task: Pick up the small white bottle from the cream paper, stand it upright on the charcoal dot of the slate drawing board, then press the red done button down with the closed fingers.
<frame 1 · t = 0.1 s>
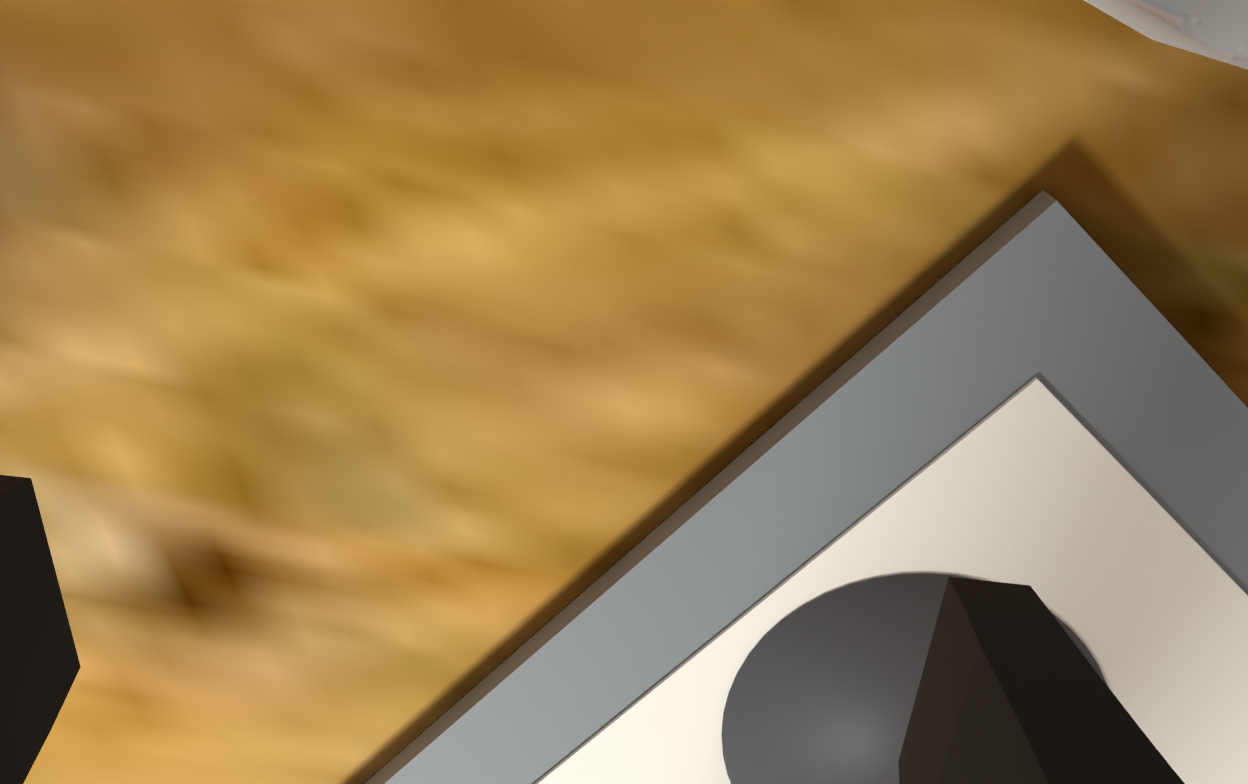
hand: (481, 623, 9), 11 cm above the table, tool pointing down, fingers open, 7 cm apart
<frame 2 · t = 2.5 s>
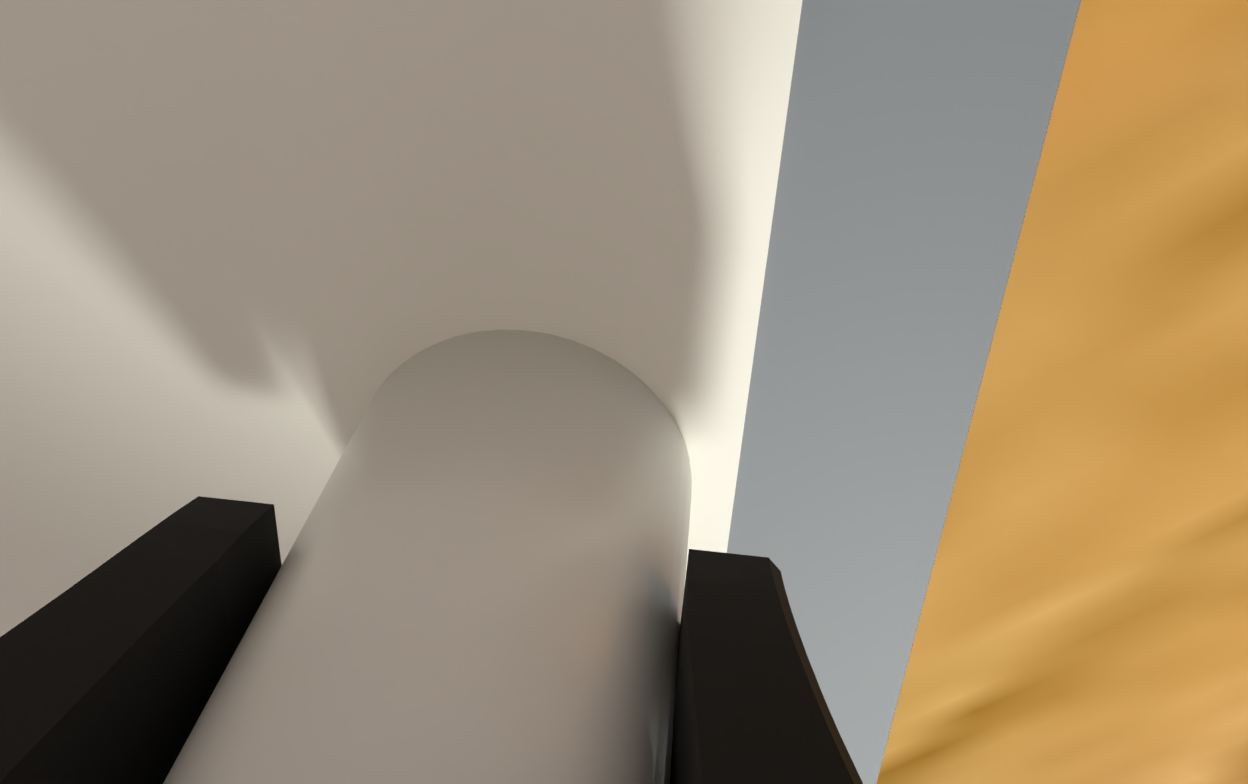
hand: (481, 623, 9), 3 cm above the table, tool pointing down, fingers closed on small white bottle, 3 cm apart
small white bottle: (523, 478, 11), point 1 cm above the table, touching drawing board, gripper
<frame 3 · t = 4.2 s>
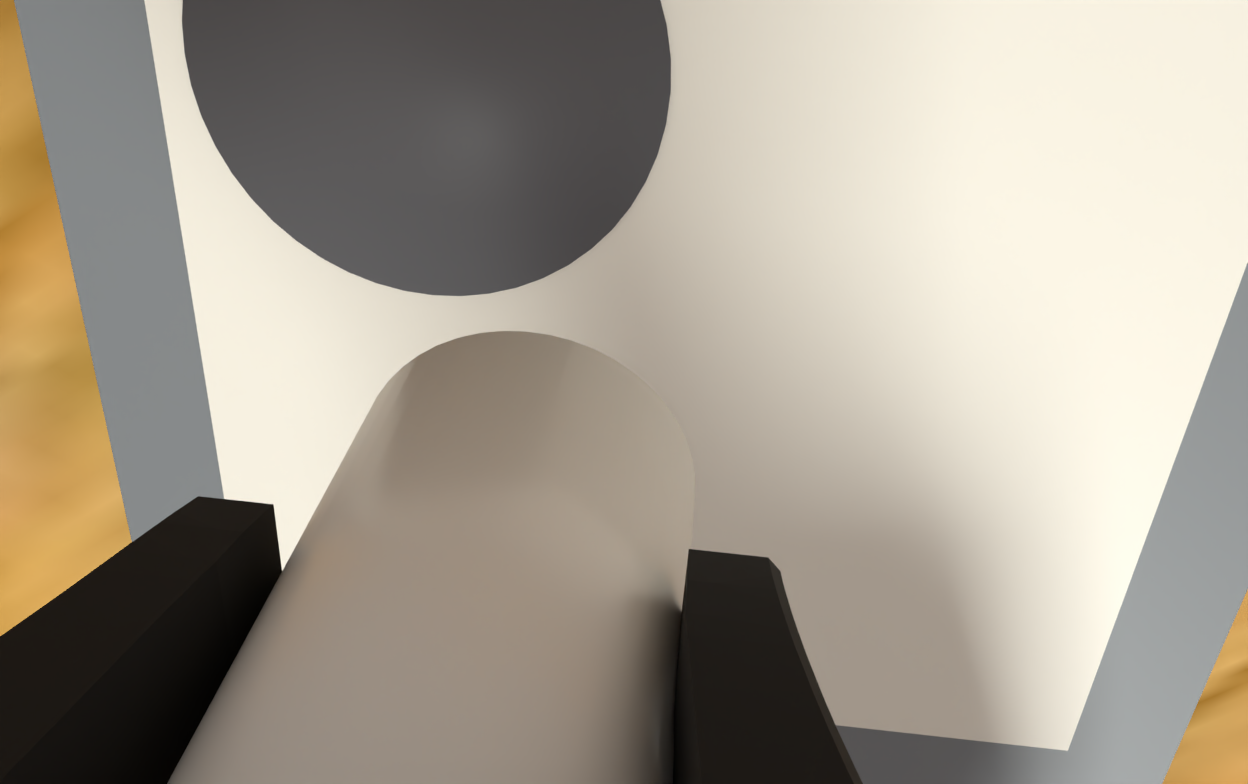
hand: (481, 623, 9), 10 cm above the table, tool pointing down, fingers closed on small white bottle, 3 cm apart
small white bottle: (526, 479, 11), point 8 cm above the table, touching gripper
drawing board: (691, 263, 18), on the table
when the fingers open (4 cm above the table, at t = 5.8 s): small white bottle drops 1 cm, resting on drawing board.
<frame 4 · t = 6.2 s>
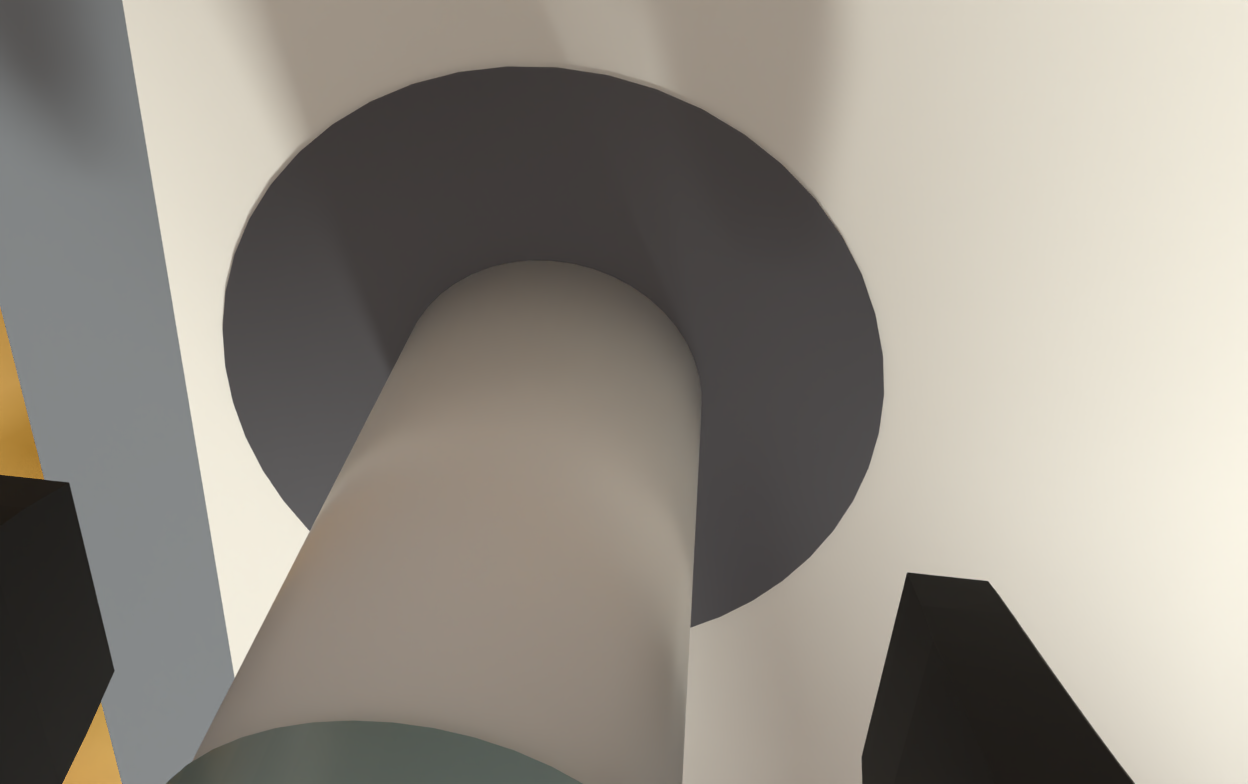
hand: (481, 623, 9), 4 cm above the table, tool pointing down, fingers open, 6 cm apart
small white bottle: (550, 398, 12), point 1 cm above the table, touching drawing board
drawing board: (869, 594, 14), on the table
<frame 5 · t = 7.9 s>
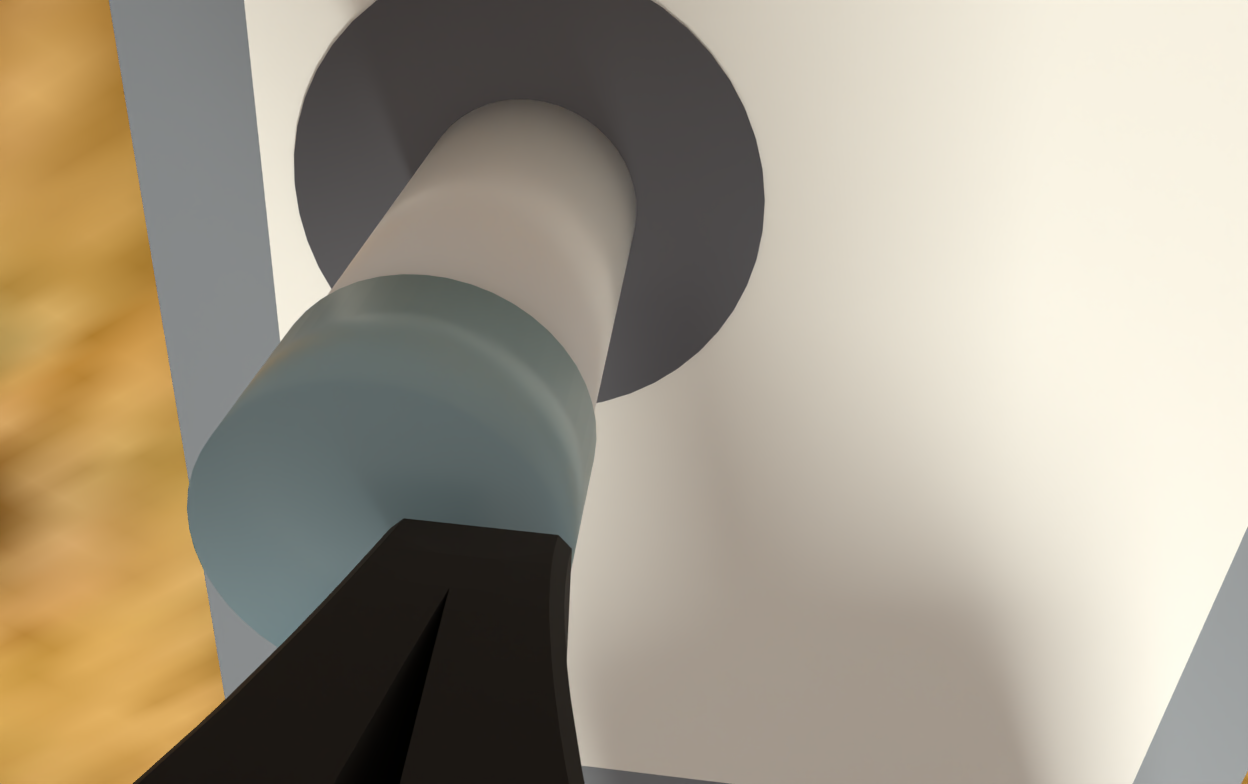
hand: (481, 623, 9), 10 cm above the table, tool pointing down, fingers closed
small white bottle: (528, 206, 17), point 1 cm above the table, touching drawing board
drawing board: (768, 376, 19), on the table
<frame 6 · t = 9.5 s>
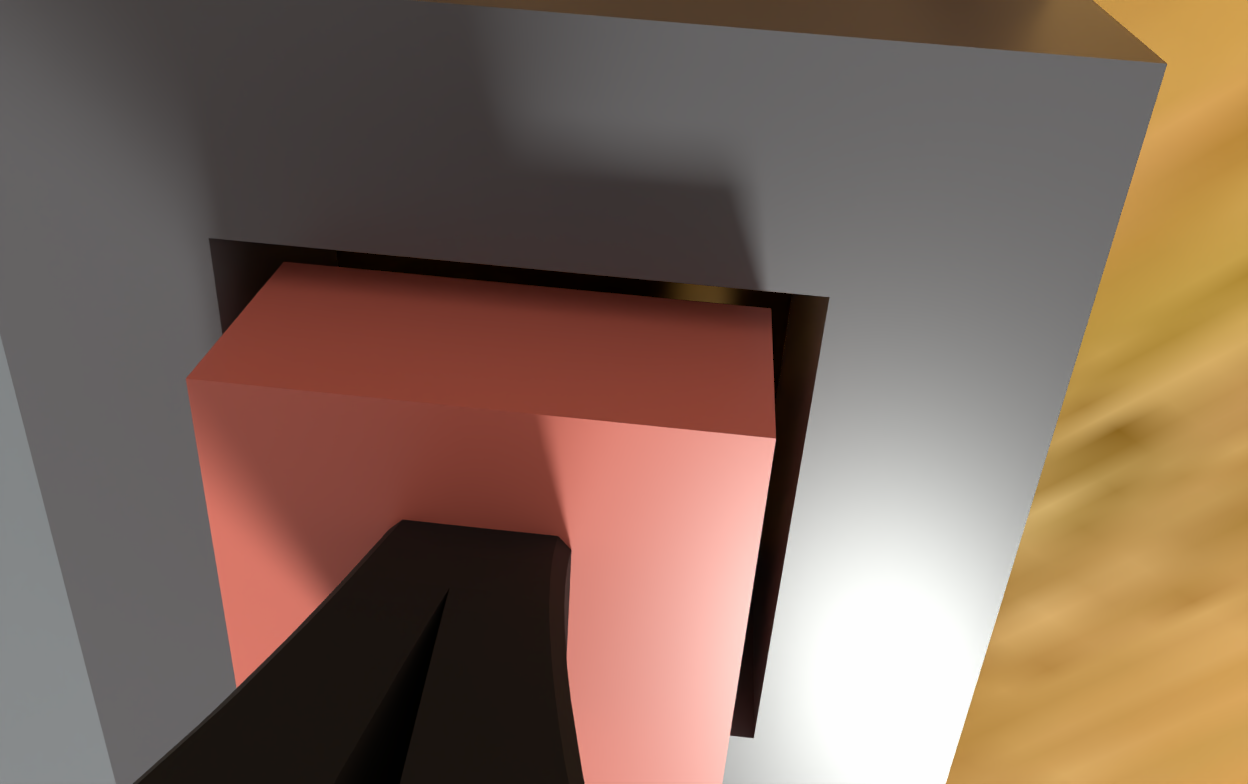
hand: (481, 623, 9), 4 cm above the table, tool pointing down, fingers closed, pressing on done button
button housing: (559, 356, 13), on the table
done button: (502, 550, 10), point 3 cm above the table, slide at 0.0 cm, touching gripper
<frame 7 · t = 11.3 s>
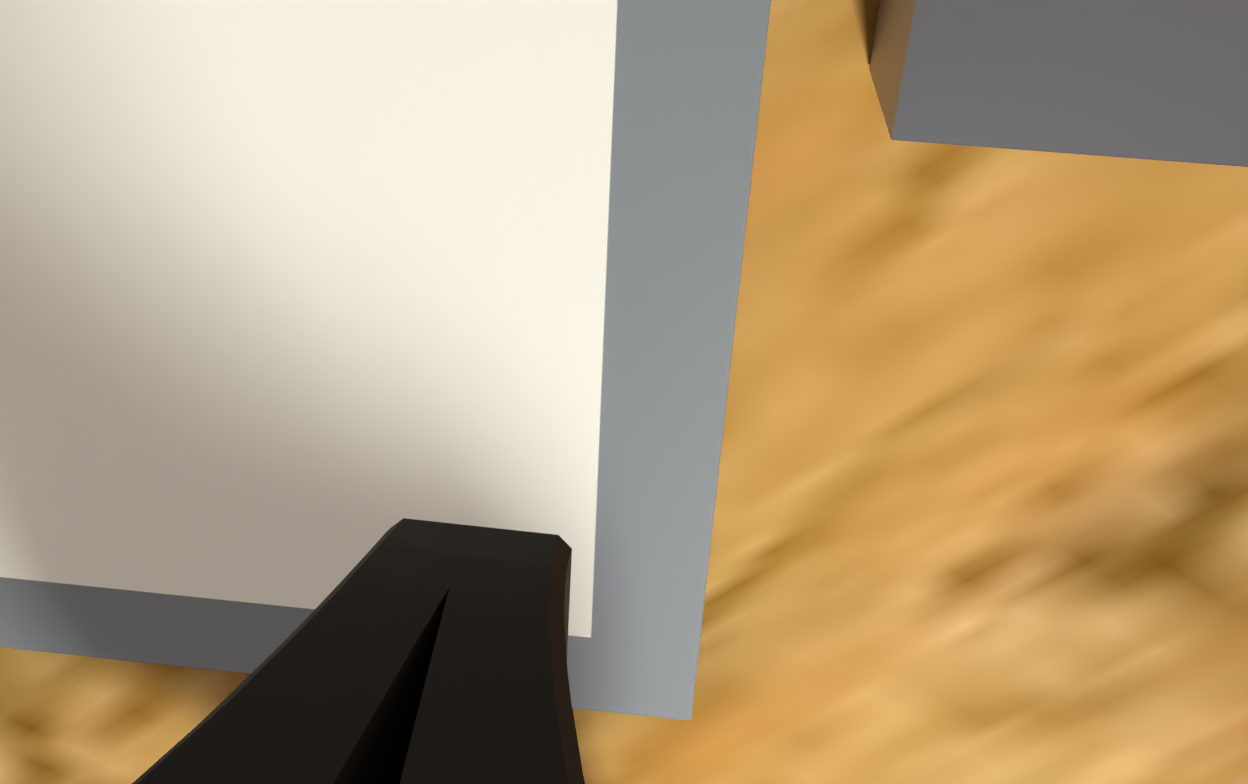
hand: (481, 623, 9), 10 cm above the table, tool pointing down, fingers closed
drawing board: (96, 111, 17), on the table
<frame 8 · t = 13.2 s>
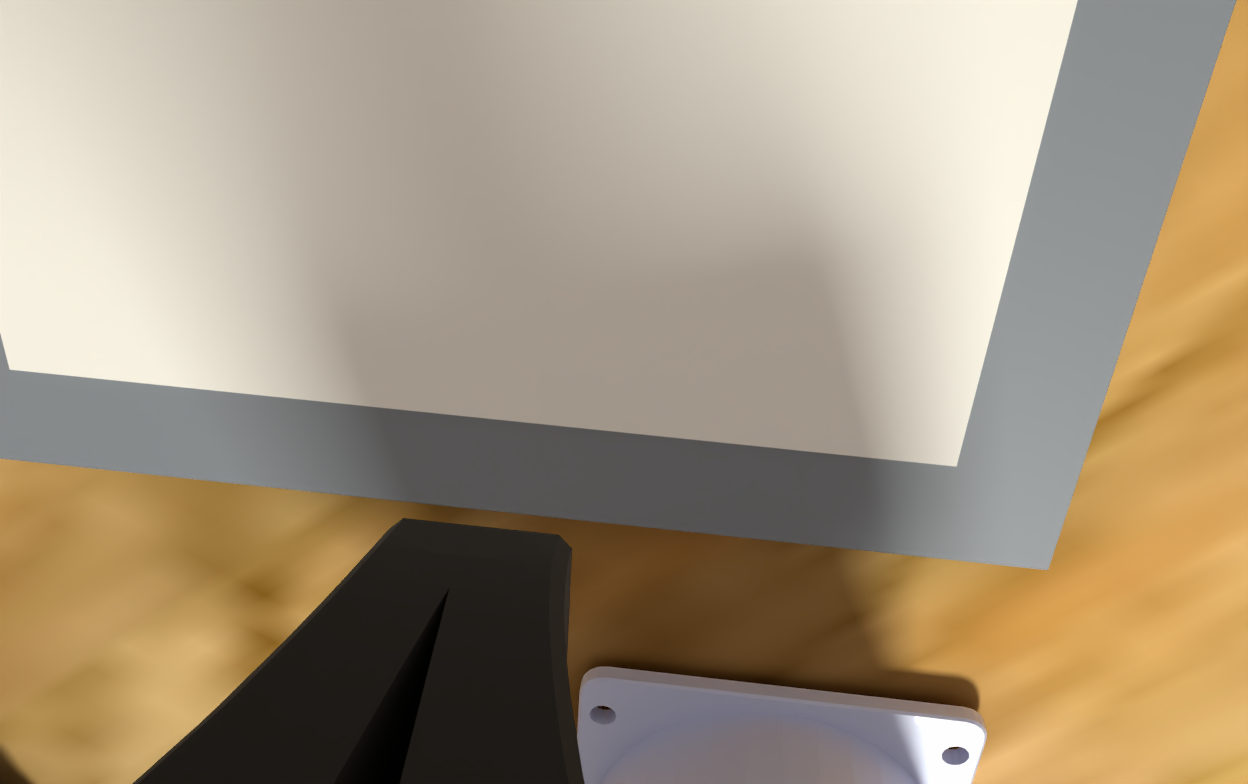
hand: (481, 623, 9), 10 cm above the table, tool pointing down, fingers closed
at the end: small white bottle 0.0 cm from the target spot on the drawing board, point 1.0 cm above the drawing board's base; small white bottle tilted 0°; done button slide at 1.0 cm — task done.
